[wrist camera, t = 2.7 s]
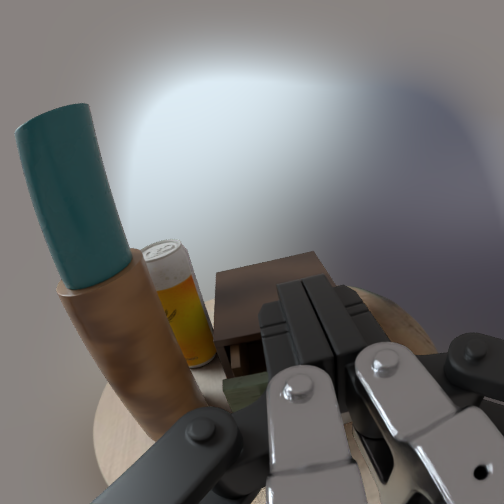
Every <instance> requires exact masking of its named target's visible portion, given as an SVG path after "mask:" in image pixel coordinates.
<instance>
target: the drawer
mask: <svg viewBox="0 0 504 504" xmlns="http://www.w3.org/2000/svg"><path fill="white" fill-rule="evenodd" d="M230 350H231V369H232V372H233V375H234V377H235V378H230V379H224V380H223V392H224V394H225V397H226V399H227V401H228V403H229V406H230V408H231V410H232V412H236V411H238V410H240V409H242V408H245V407H247V406H248V405H250V404H252V403H253V402H255V401H256V400H257V399H258V398H260V397H261V395H262V394H263V393H264V391H265V389H266V387H267V385H268V372H267V366H266V360H265V355H264V349H263V343H262V339H258V340H253V341H248V342H243V343H238V344H233V345H230ZM341 417H342V421H343V424H346V423H349V422H352V419H351V417H350V414H349V412H345V413H342V414H341Z"/></svg>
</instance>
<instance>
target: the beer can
mask: <svg viewBox="0 0 504 504" xmlns="http://www.w3.org/2000/svg"><path fill="white" fill-rule="evenodd" d="M140 251H141V252H142V254H143V256H144V259H145V262H146V265H147V267H148V270H149V273H150V276H151V278H152V281H153V283H154V286H155V289H156V291H157V294H158V296H159V299H160V301H161V304H162V306H163V309H164V311H165V313H166V316H167V318H168V321H169V323H170V325H171V328H172V330H173V332H174V335H175V337H176V339H177V342H178V344H179V346H180V348H181V350H182V353H183V355H184V357H185V359H186V361H187V364H188V366H189V368H196V367H201V366H203V365H205V364H207V363H209V362H210V361H211V360H212V359H213V358H214V356H215V354H216V352H217V351H216V347H215V345H214V342H213V333H214V330H213V327H212V324H211V321H210V318H209V315H208V312H207V310H206V307H205V304H204V301H203V298H202V295H201V292H200V289H199V286H198V282H197V279H196V276H195V273H194V270H193V267H192V264H191V260H190V257H189V254H188V251H187V249H186V248H185V247H184V246H183V245H182V244H181V241H180V240H177V239H168V240H163V241H159V242H156V243H153V244H151V245H149V246H146V247H145V248H143V249H141V250H140Z"/></svg>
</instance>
